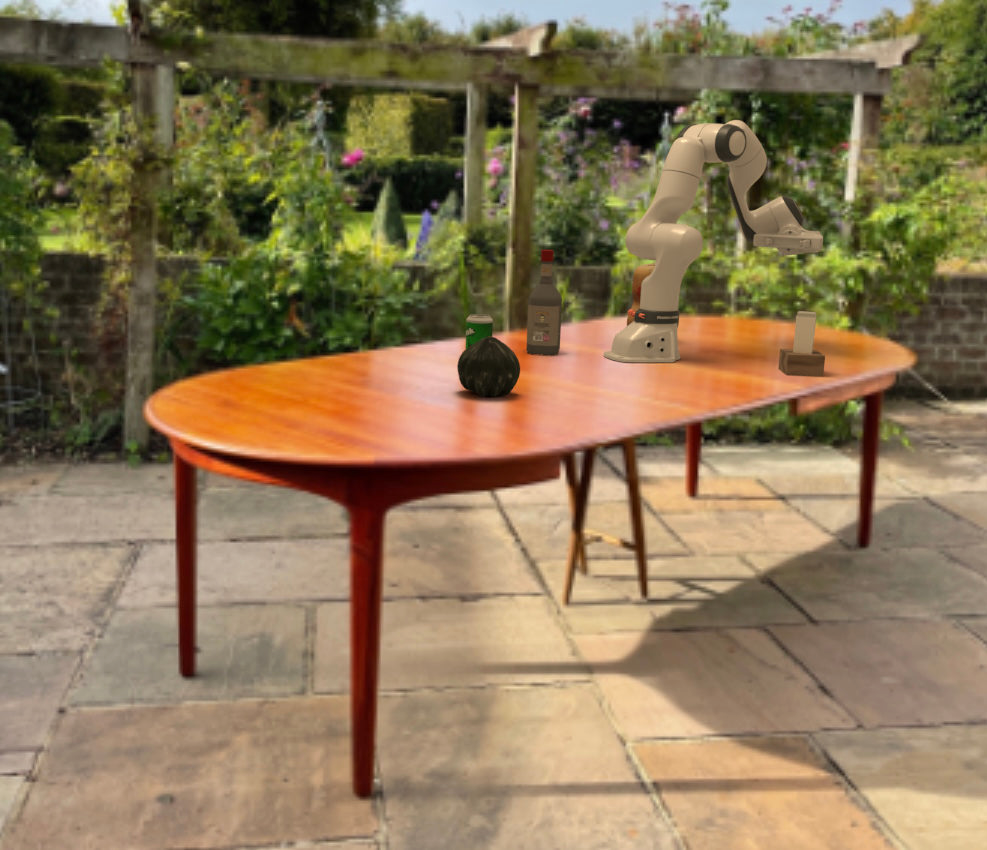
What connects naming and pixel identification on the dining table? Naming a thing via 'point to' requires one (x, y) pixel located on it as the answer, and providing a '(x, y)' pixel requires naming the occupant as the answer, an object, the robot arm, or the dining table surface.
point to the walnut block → (801, 363)
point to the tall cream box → (804, 332)
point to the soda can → (478, 328)
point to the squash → (488, 368)
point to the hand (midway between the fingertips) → (785, 242)
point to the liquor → (544, 312)
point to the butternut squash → (639, 286)
